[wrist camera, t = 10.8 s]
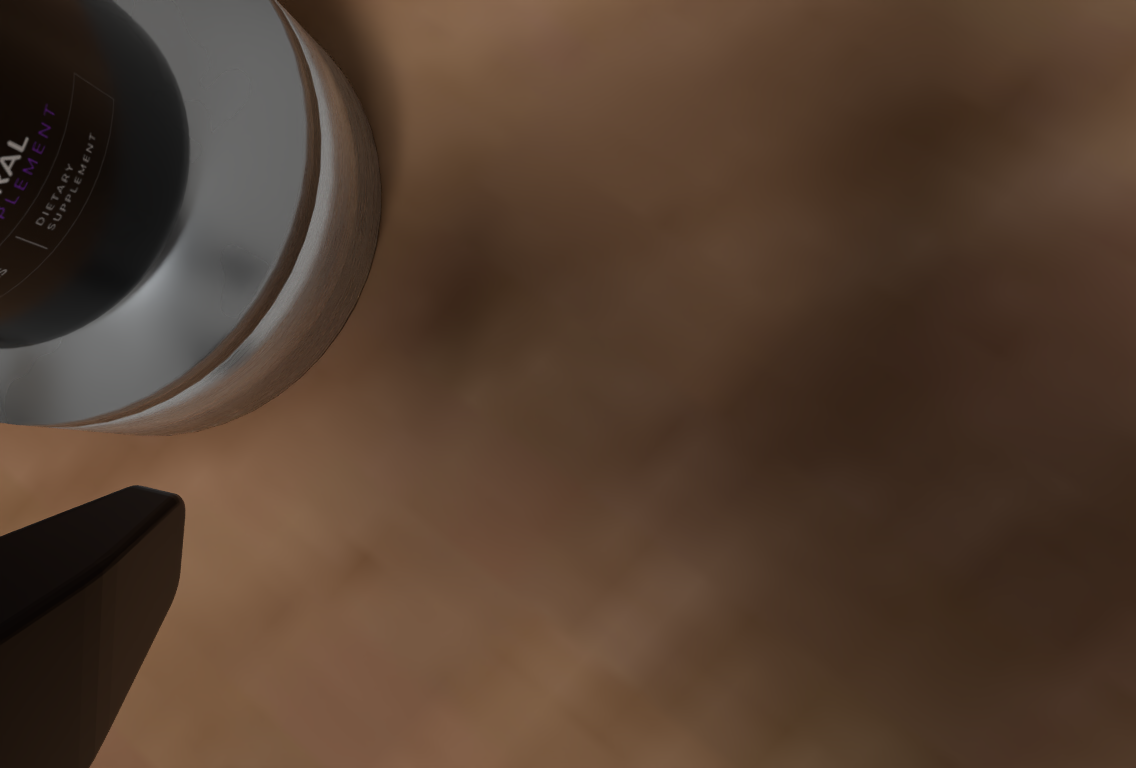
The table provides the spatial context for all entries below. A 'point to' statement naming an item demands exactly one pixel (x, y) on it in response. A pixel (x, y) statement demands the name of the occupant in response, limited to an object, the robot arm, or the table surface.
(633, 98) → the table surface
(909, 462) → the table surface
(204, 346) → the grey short cylinder
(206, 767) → the table surface
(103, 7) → the supplement bottle
